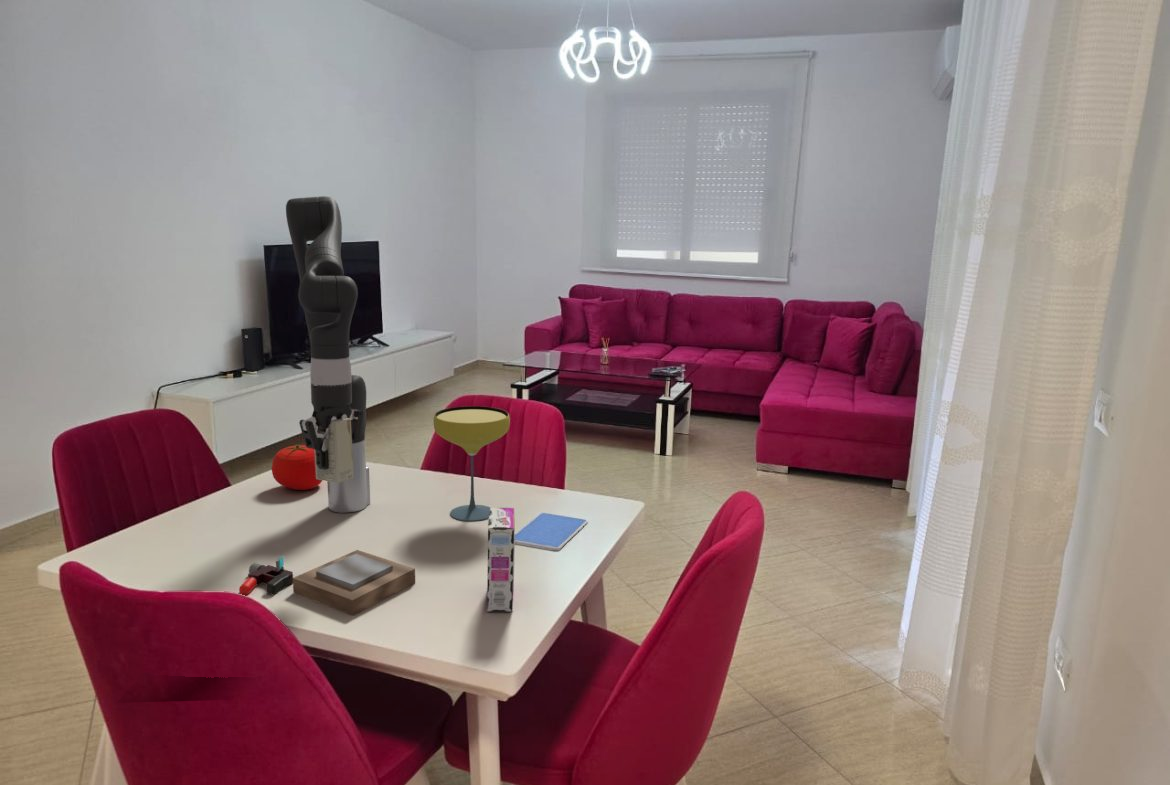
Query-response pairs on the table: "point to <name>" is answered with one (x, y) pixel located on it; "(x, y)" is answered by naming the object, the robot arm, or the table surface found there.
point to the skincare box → (338, 453)
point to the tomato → (295, 468)
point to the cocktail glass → (471, 442)
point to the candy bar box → (500, 560)
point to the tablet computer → (549, 531)
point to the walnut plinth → (354, 581)
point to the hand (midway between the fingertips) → (333, 465)
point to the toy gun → (267, 577)
